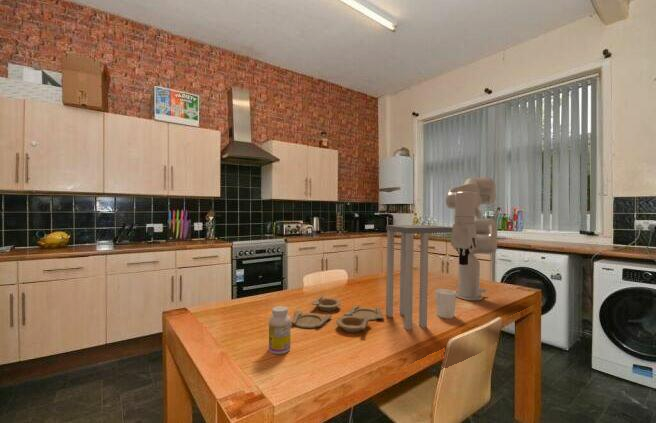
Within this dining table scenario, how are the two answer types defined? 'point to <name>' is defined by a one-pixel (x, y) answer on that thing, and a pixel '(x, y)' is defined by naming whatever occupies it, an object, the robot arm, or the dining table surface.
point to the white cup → (445, 303)
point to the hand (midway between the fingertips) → (463, 264)
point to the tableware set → (346, 322)
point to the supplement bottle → (279, 331)
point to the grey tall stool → (409, 270)
